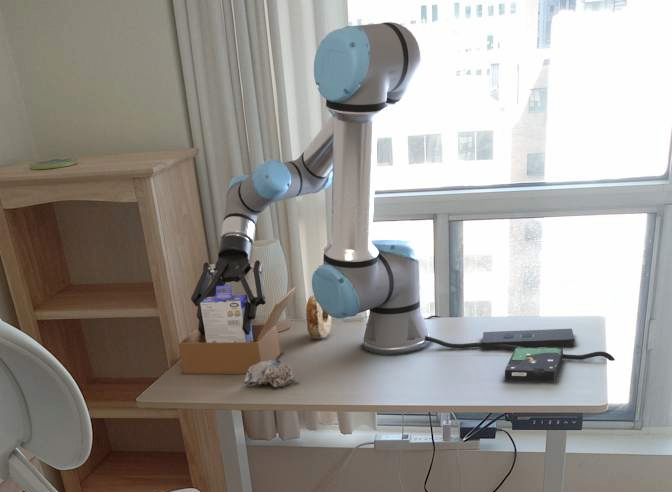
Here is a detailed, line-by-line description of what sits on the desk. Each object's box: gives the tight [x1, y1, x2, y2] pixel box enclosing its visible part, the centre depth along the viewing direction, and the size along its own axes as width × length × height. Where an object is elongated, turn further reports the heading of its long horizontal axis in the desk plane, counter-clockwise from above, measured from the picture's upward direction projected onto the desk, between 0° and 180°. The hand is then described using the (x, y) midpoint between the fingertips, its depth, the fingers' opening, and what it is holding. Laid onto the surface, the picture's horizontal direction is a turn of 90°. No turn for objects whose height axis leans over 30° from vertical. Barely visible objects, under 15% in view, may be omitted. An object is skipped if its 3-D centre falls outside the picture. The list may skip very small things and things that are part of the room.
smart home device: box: [482, 328, 575, 350], centre depth 210 cm, size 8×2×20 cm
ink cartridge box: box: [200, 285, 253, 343], centre depth 210 cm, size 10×6×14 cm, turn 79°
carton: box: [177, 323, 282, 375], centre depth 213 cm, size 19×14×7 cm
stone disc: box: [305, 294, 332, 340], centre depth 224 cm, size 10×4×10 cm, turn 161°
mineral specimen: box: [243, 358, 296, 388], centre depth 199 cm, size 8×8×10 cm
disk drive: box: [504, 347, 564, 383], centre depth 193 cm, size 10×3×15 cm
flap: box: [257, 286, 297, 340], centre depth 206 cm, size 9×14×1 cm
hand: (223, 332), depth 208 cm, fingers closed on ink cartridge box, 10 cm apart
